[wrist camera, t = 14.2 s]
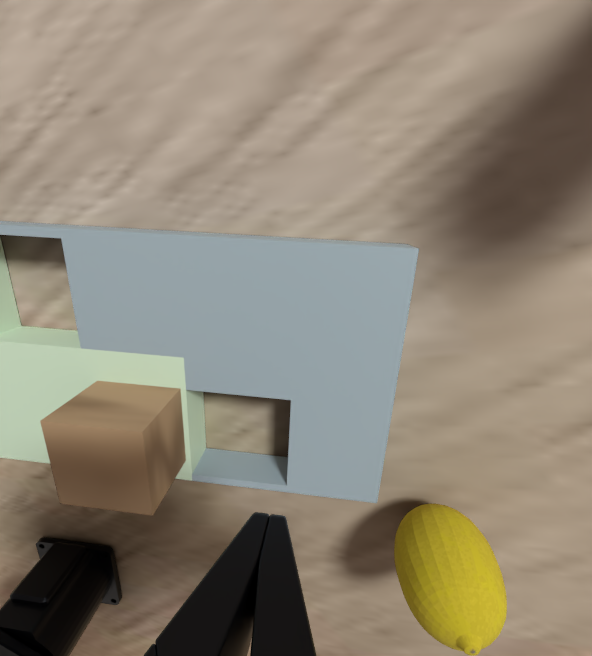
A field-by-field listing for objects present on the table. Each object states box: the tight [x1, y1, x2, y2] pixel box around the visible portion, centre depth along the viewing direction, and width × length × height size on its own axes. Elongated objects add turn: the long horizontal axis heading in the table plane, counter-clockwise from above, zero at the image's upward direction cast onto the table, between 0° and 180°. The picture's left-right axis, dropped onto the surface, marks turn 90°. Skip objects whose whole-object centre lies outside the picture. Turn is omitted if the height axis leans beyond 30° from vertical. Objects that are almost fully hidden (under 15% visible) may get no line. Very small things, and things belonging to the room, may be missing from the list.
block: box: [40, 381, 186, 516], centre depth 18 cm, size 5×5×4 cm
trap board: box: [0, 221, 419, 503], centre depth 20 cm, size 15×27×3 cm, turn 87°
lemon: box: [394, 504, 507, 655], centre depth 19 cm, size 6×6×8 cm
